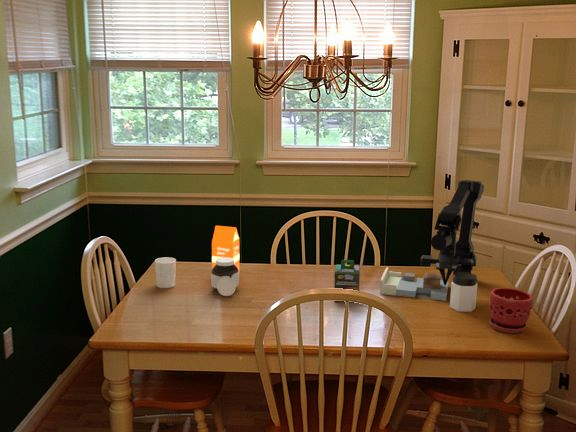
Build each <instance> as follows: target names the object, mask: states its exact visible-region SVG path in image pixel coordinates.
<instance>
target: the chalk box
mask: <svg viewBox="0 0 576 432" xmlns="http://www.w3.org/2000/svg"><path fill="white" fill-rule="evenodd" d="M360 268H361V265H360V264H355V260H353V259H342V260H341V262H340V264H335V266H334V276H333V277H334V279H333V282H334V284H333V285H334V287H333V289H334V288H343V289H353V290H358V291H359V292H360V283H361V281H360V280H361V278H360V276H361V275H360V273H361V269H360ZM333 301H334V300H333ZM334 302H336V301H334ZM338 302H342V301H338ZM342 303H343V302H342Z"/></svg>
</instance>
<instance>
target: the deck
mask: <svg viewBox="0 0 576 432" xmlns="http://www.w3.org/2000/svg"><path fill="white" fill-rule="evenodd" d="M403 276H404V275H403ZM403 276H402V271H401V272H400V271H399V272H398V271H391V270H390V271H389V267H388V266H387V267H385V270H384V272H383V274H382V276H381V278H380V279H379V280H380V282H379V284H380V285H379V294H381V295H388V296H397V297H398V296H399V297H405V298H406V297H408V298H417V299H418V298H419V299H427V300H434V301H435V300H436V301H444V302H446V301H447V297H448V296H447V295H448V290H449V280H448V281H447V284H446V285H444V283H443V279H441V280H440V289H430V288H423V281H424V277H423V278H421V277H416V278H415V282H413V281H403Z"/></svg>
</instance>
